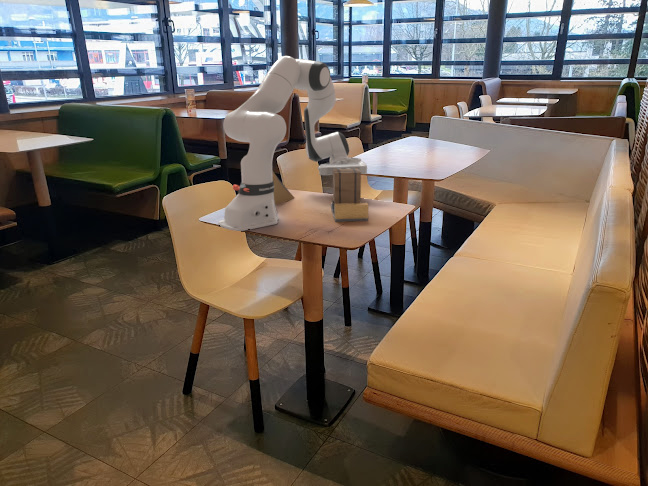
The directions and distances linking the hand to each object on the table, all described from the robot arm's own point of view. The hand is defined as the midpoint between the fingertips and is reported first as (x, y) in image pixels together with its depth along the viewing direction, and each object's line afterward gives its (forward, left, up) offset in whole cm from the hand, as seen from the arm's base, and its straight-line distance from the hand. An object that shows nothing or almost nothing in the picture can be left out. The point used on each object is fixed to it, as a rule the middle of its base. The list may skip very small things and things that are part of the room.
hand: (344, 172), depth 200 cm
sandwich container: (-16, +24, -13) cm, 32 cm away
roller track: (-11, -12, -12) cm, 20 cm away
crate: (-7, -7, -9) cm, 14 cm away
